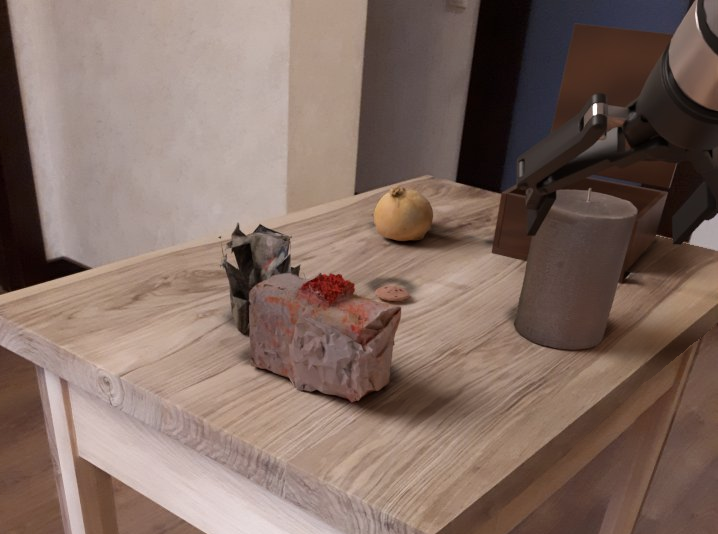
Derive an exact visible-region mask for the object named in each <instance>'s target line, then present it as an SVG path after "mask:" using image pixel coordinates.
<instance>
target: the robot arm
mask: <svg viewBox="0 0 718 534" xmlns="http://www.w3.org/2000/svg"><path fill="white" fill-rule="evenodd" d="M673 34H674V36H673V37H672V39H671V41H670V42H669V44H668V45H667V47H666V48H665V50H664V52H663V53H662V55H661V57H660V58H659V60H658V61H657V63H656V65H655V66H654V68H653V70H652V71H651V73H650V75H649V76H648V78H647V80H646V82H645V85H644V87H643V89H642V91H641V94H640V95H639V97H638V98H636V99H635V100H634V101H632V102H631V103H629V104H628V105H627V106H626V107H618V106H611V105H607V96H606V95H605V94H603V93H598V94H594V95H593V96H591V97H590V99H589V100H588V102H587V103H586V105H585V106H584V107H583V109H582V110H581V112H579V113H578V114H577V115H575V116H574V117H573V118H571V119H570V120H568V121H567V122H566V123H564V124H563V125H562V126H560V127H559V128H558V129H556V130H555V131H553V132H552V133H551V132H550V133H549V134H548V135H547V136H545V137H544V138H543V139H541V140H540V141H538V142H536V144H534V145H533V146H531V147H530V148H529V149H528V150H526V151H525V152H523V153H522V154H521V155H519V156H518V157H517V158H516V184H517V188H518V189H519V190H526V209H527V235H528V236H535V235H536V233H537V231H538V230H539V228H540V226H541V224H542V223H543V221H544V219H545V217H546V216H547V214H548V212H549V211H550V209H551V207H552V205H553V204H554V202H555V200H556V191H557V190H559V189H561V188H564V187H566V186H568V185H571V184H573V183H575V182H578V181H580V180H582V179H585V178H587V177H592V176H595V175H594V174H596V173H599V172H601V171H603V170H606V169H608V168H611V167H613V166H616V167H617V168H619V169H622V168H625V167H627V166H629V165H632V164H634V163H636V162H639V161H665V162H669V163H677V164H681V163H682V162H685V161H689V162H690V163H691V164H692V166H693V168H694V170H695V172H696V174H700V175H701V177H702V179H703V182H701V184H700V185H699V186H698V187H697V188H696V189H695V191H694V192H693V193H692V194H691V195H690V196H689V198H688V199H687V200H686V201H685V202H684V203H683V204H682V205H681V207H679V208H678V210H677V211H676V212H675V213H674V215H672V217H671V231H672V234H671V237H672V245H674V246H676V245H677V246H681V245H682V244H683V243H684V242H686V240H687V239H688V238H689V237H690V236H691V235H692V234H693V233H694V232H695V231H696V229H698V228H699V227H700V225H702V224H703V223H704V222H705V221H710V220H712V219H714V218H715V217H716V216H717V215H718V0H694V1H693V3H692V4H691V6H690V7H689V9H688V11H687V12H686V14H685V15H684V17H683V18H682V20H681V22H680V23H679V25H678V26H677V28H676V30H675V32H674V33H673ZM626 140H627V142H628V144H629V146H630V148H631V149H629V150H627V151H626Z"/></svg>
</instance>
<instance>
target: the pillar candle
mask: <svg viewBox="0 0 718 534" xmlns="http://www.w3.org/2000/svg"><path fill="white" fill-rule="evenodd" d="M637 212H638V210H637V208H636V207H635V206H634V205H633V204H632V203H631V202H629V201H627V200H623V199H620V198H617V197H614V196H611V195H606V194H602V193H597V192H592V191H591V188H589V190H588V191H584V190H557V191H556V200H555V202H554V204H553V205H552V207H551V209H550V211H549V212H548V214H547V216H546V217H545V219H544V221H543V223H542V224H541V226H540V228H539V230H538V231H537V233H536V235H535V236H532V240H531V245H530V250H529V253H528V258H527V261H526V264H525V270H524V276H523V281H522V285H521V290H520V293H519V297H518V304H517V311H516V316H515V318H514V322H513V325H514V329H515V331H516V332H517V333H518V334H519V335H520V336H522V337H523V338H525V339H527V340H528V341H531V342H532V343H536V344H538V345H540V346H544V347H550V348H553V349H559V350H573V351H575V350H585V349H591V348H594V347H596V346H598V345H600V343H601V342H602V340H603V338H604V336H605V332H606V328H607V325H608V321H609V318H610V314H611V311H612V308H613V303H614V300H615V296H616V293H617V289H618V285H619V282H618V281H619V277H620V274H621V270H622V267H623V263H624V259H625V255H626V252H627V248H628V244H629V241H630V237H631V234H632V230H633V226H634V223H635V219H636V216H637Z"/></svg>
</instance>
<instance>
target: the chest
mask: <svg viewBox="0 0 718 534" xmlns="http://www.w3.org/2000/svg"><path fill="white" fill-rule="evenodd" d="M589 188H591V191H592V192H597V193H602V194H606V195H611V196H614V197H617V198H620V199H623V200H627V201H629V202H631V203H632V204H633V205H634V206H635V207H636V208H637V210H638V212H637V216H636V219H635V223H634V226H633V230H632V234H631V237H630V241H629V244H628V248H627V252H626V255H625V259H624V263H623V267H622V270H621V274H620V277H619V281H618V284H622V283H623V282H624V281H625V280H626V279H627V277H629V276H630V274H631V273H632V272H631V271H629V270H628V269H630V267H632V265H633V264H634V263H635V262H636V261H637V260H638V259H639V258H640V256H642V254H643V253H644V252H645V251H646V250H647V249H648V248H649V246H651V244H653V242H654V241H655V240H656V235H657V232H658V229H659V225H660V222H661V219H662V216H663V211H664V208H665V205H666V202H667V201H666V200H667V198H668V194H669V192H668V191H666V190H660V189H655V188H649V187H648V188H647V187H644V186H643V187H642V186H637V185H633V184H629V183H628V184H627V183H622V182H617V181H612V180H606V179H601V178H596V177H591V176H589V177H587V178H585V179H582V180H580V181H578V182H575V183H573V184H571V185H568V186H566V187H564V188H561V189H559V190H584V191H588V190H589ZM497 211H498V212H497V217H496V223H495V230H494V235H493V242H492V248H491V253H492V254H496V255H500V256H503V257H504V256H505V257H509V258H513V259H518V260H523V261H525V262H527V258H528V253H529V250H530V245H531V240H532V236H528V235H527V209H526V190H519V189H518V188H517V183H516V184H514V185H513V186H510V187H509V188H507V189H505V190H504V191H502V192H501V194H500V199H499V206H498V210H497Z"/></svg>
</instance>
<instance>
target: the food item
mask: <svg viewBox="0 0 718 534" xmlns="http://www.w3.org/2000/svg"><path fill="white" fill-rule="evenodd" d="M355 287H356V284H355V283H354V282H351V281H350V280H349V279H346V280H345V279H344V277H343V274H340V273H337V274H335V273H332V272H330V273H329V274H328V275H327V274H326V273H324V274H322V272H319V273H318V274H317V275H316V276H315V277H314V278H311V279H308V278H306V279H305V277H300V276H299V277H298V276H296V275H293V274H291V273H287V274H278V275H273V276H271V277H270V278H268V279H267V280H264V281H262V282H260V283H259V284H257V285H255V286H254V287H253V288H252V290H251V291H250V293H249V300H250V305H249V360H248V361H249V364H250V366H251V367H253V368H258V369H261V370H267V371H269V372H272V373H273V374H276V375H279V376H282V377H285V378H287V379H289V380H290V382H291V384H292V386H293V387H294V388H295V389H297V390H298V391H301V392H302V391H306V392H311V393H312V392H314V391H319V392H320V393H322V394H326V395H330V396H337V397H339V398H343V399H345V400H348V401H349V402H350V403H354V402H356V401H358V402H359V401H360V400H361V399H362V398H364V397H365V396H367V395H370V394H371V393H373V392H378V391H380V390H381V389H382V388H384V387H386V386H387V385H388V384H389V383H390V376H391V365H392V361H393V351H394V346H395V337H396V333H397V330H398V328H399V325H400V322H401V319H402V307H401V306H399V305H398V306H397V305H394V304H393V305H392V304H391V305H390V304H388V303H386V302H381V301H377V300H374V299H372V298H369V297H366V296H361V295H358V294H355V291H356V288H355Z"/></svg>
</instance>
